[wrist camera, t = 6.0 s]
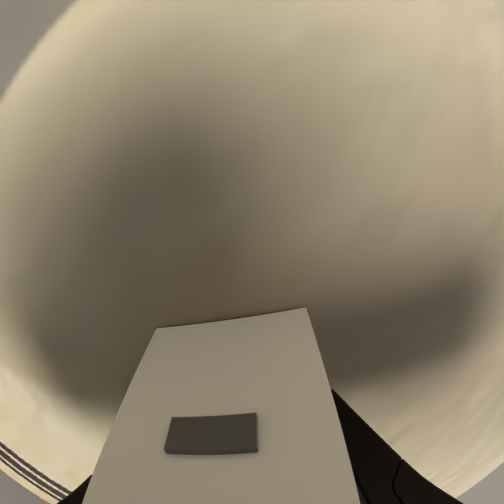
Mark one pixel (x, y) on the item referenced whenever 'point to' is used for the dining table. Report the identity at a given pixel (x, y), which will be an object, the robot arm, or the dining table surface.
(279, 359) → the charger
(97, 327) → the dining table surface
